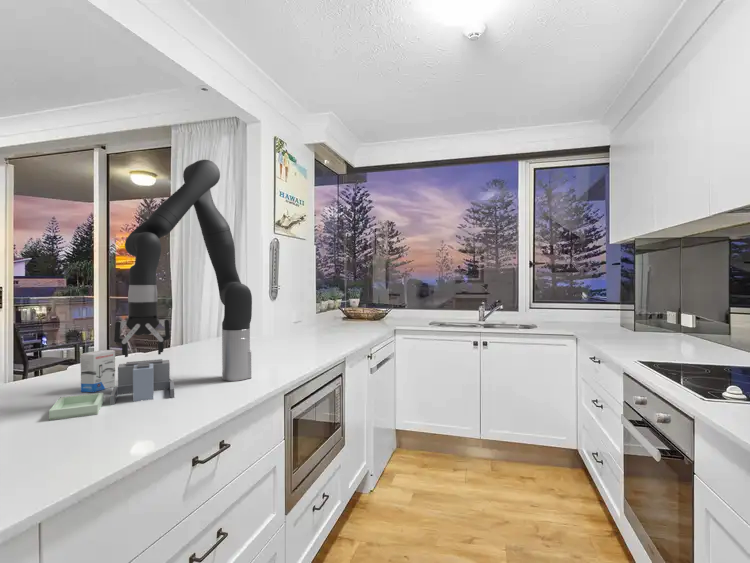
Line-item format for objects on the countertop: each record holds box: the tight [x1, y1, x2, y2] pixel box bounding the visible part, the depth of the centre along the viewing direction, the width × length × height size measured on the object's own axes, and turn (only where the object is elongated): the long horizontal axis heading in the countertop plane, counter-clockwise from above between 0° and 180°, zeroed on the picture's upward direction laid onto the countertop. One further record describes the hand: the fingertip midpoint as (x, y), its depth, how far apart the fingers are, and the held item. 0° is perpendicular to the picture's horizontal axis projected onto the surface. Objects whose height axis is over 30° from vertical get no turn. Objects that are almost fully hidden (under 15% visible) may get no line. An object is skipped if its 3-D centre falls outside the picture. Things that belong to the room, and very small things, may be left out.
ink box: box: [80, 349, 116, 393], centre depth 131 cm, size 9×5×12 cm, turn 168°
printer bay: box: [109, 358, 175, 406], centre depth 126 cm, size 16×18×9 cm
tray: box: [48, 392, 105, 421], centre depth 110 cm, size 10×13×2 cm
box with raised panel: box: [132, 363, 154, 402], centre depth 122 cm, size 5×8×10 cm, turn 27°
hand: (143, 355), depth 122 cm, fingers open, 8 cm apart
